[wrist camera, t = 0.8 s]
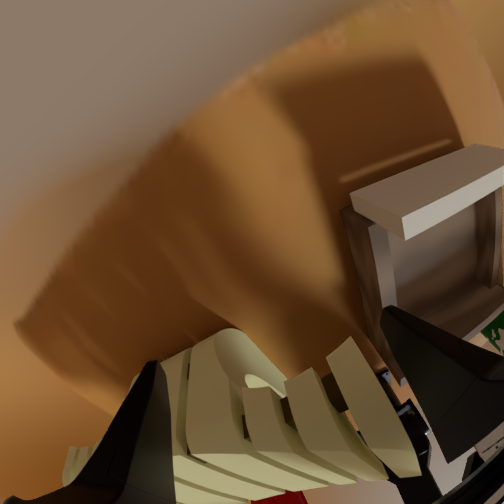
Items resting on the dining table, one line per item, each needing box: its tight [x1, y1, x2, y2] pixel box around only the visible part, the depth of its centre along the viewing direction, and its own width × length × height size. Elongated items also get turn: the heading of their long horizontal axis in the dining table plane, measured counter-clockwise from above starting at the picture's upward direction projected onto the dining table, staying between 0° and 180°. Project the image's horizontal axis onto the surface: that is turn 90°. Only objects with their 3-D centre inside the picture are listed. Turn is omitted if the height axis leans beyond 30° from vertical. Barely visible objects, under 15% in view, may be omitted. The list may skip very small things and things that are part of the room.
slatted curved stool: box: [62, 328, 422, 504], centre depth 20 cm, size 30×16×18 cm, turn 122°
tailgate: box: [350, 144, 504, 241], centre depth 16 cm, size 2×17×7 cm, turn 112°
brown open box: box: [340, 187, 504, 387], centre depth 22 cm, size 17×18×8 cm
